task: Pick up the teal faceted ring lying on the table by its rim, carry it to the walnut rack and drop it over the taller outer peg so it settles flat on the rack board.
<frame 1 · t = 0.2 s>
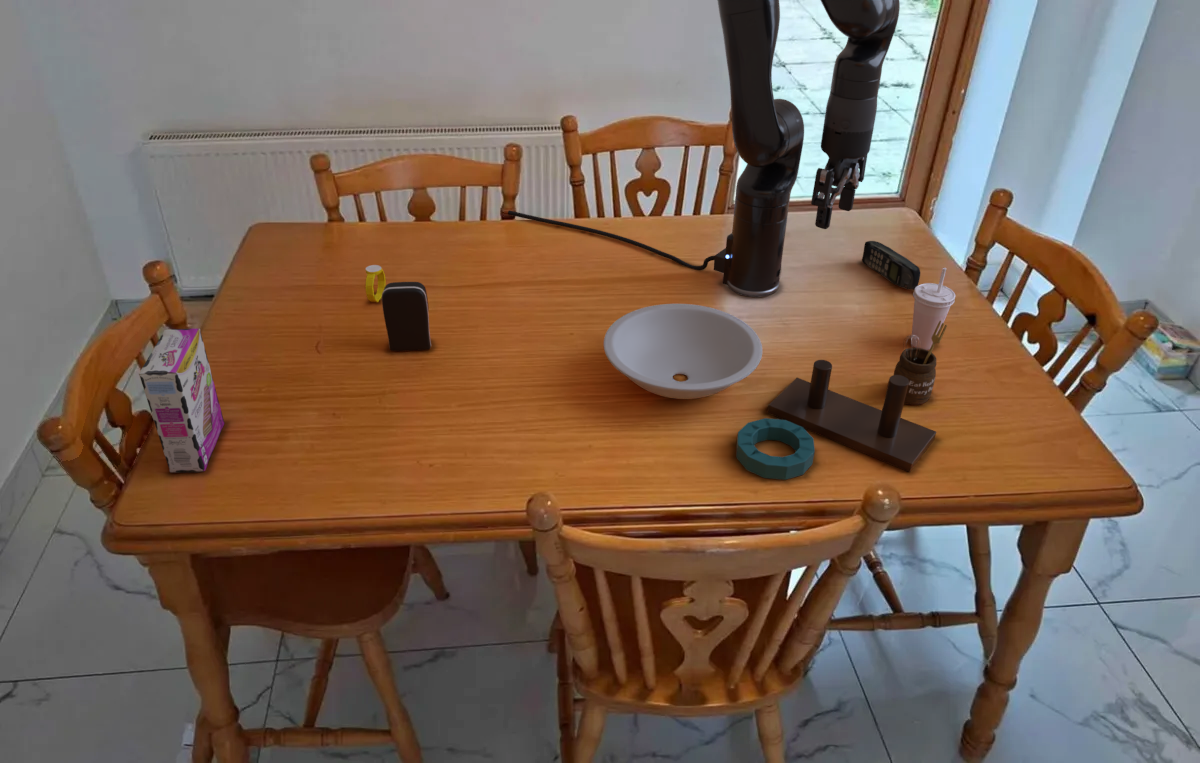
hand: (833, 218, 153), 17 cm above the table, tool pointing down, fingers open, 8 cm apart
watch: (377, 299, 165), on the table
rack: (849, 426, 135), on the table
battery charger: (411, 346, 152), on the table
vessel sink basin: (680, 379, 145), on the table
utensil holder: (910, 395, 142), on the table
teal faceted ring: (773, 454, 130), on the table
candy bar box: (200, 448, 130), on the table
mobile phone: (891, 279, 172), on the table
smoothie: (922, 344, 153), on the table
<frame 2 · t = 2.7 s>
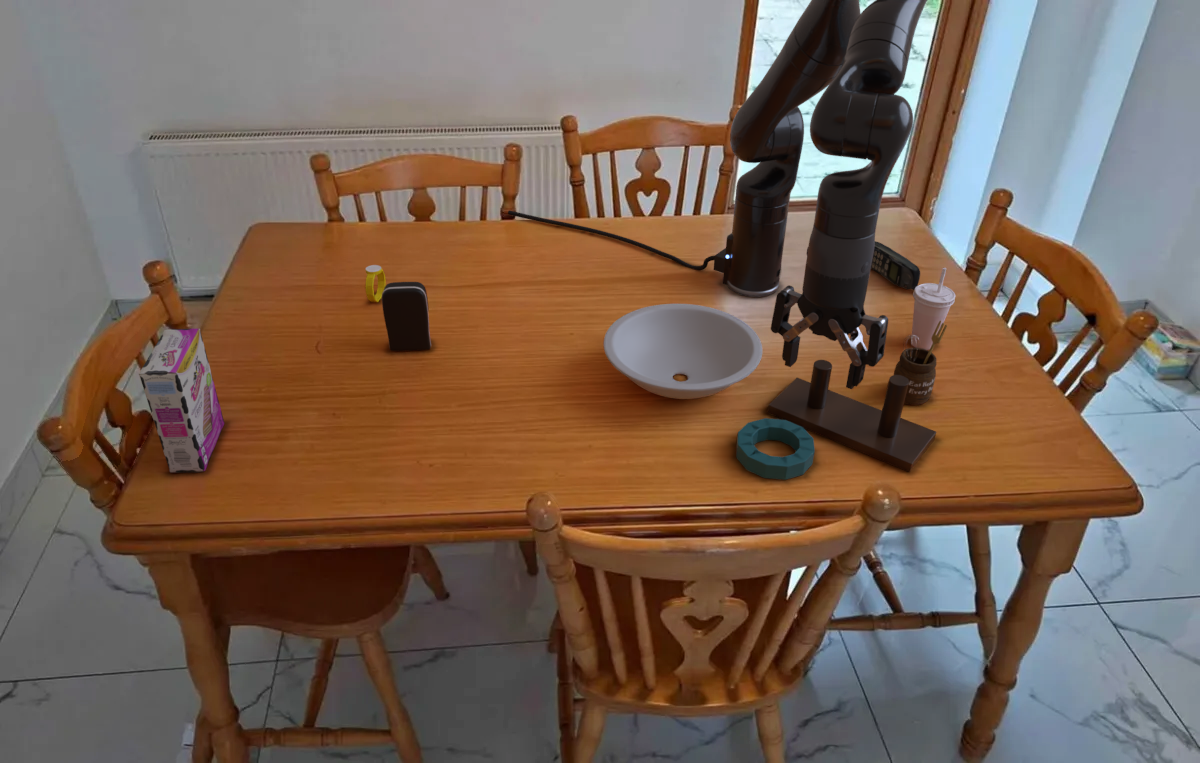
hand: (820, 374, 119), 15 cm above the table, tool pointing down, fingers open, 8 cm apart
nothing on the table moved.
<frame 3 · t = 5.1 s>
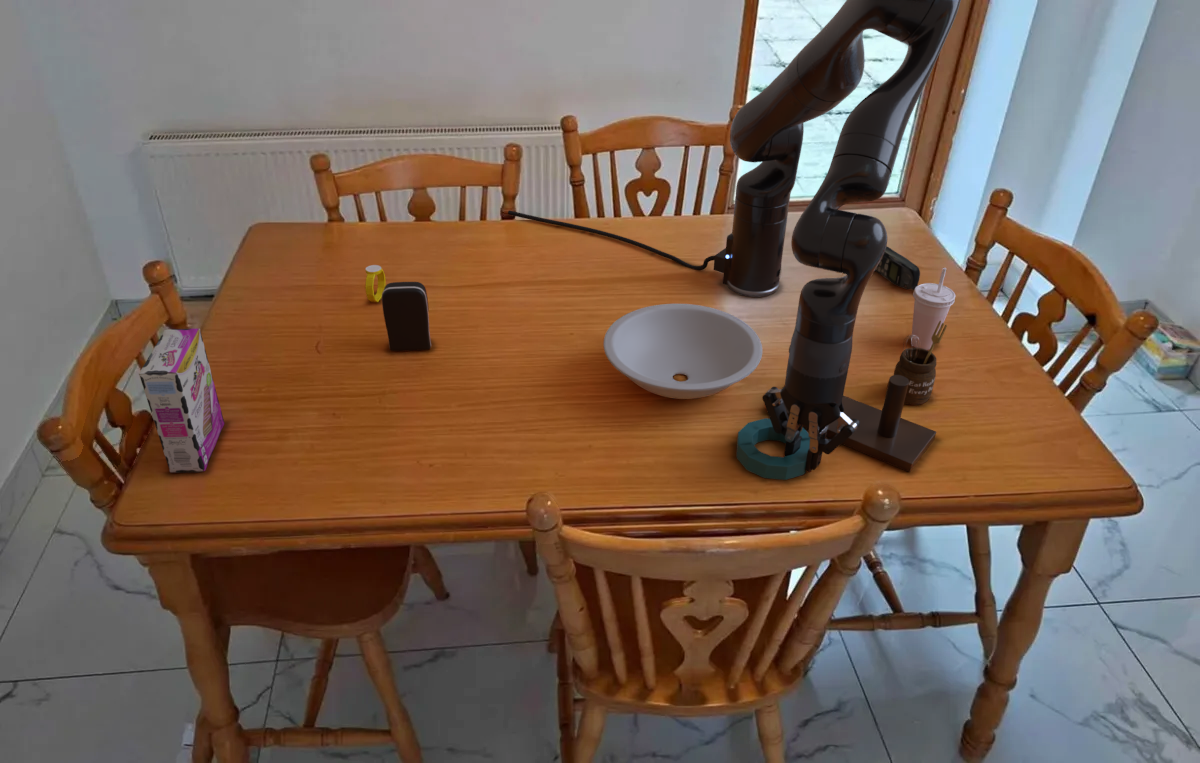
hand: (801, 464, 127), 0 cm above the table, tool pointing down, fingers closed on teal faceted ring, 2 cm apart
teal faceted ring: (774, 454, 130), on the table, touching gripper
everything else where it was.
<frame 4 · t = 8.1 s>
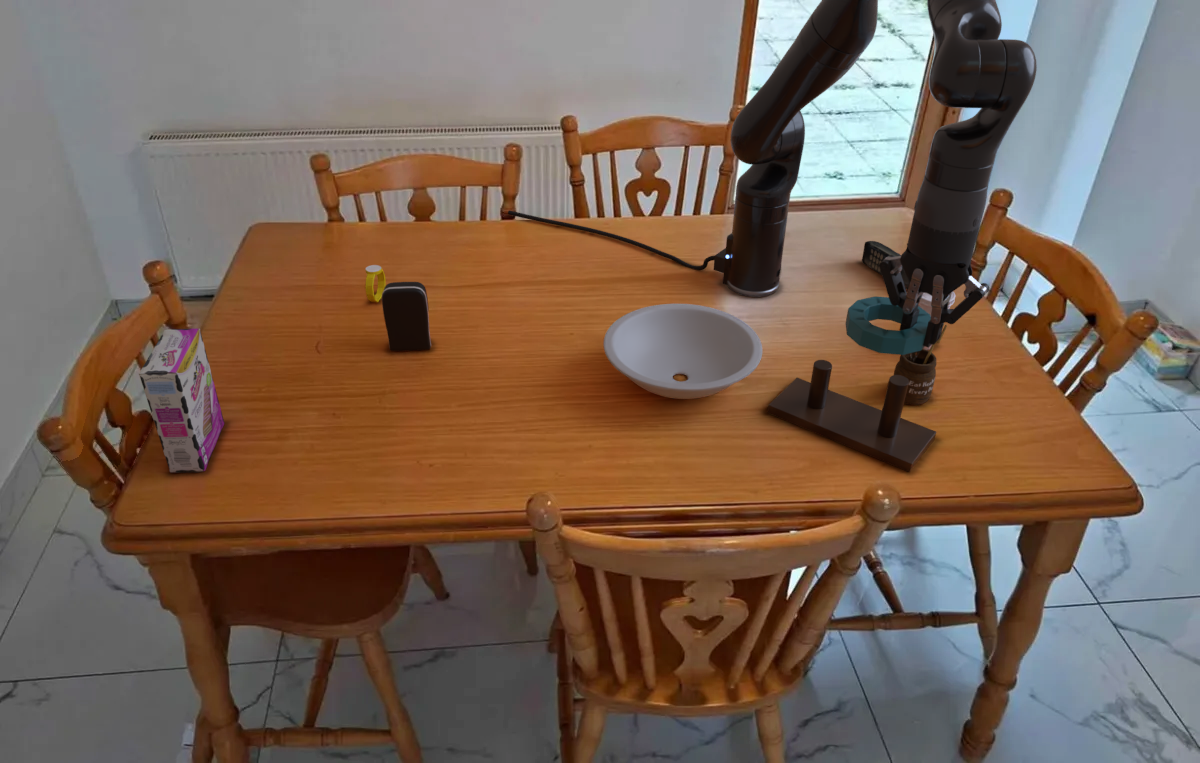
hand: (918, 340, 119), 19 cm above the table, tool pointing down, fingers closed on teal faceted ring
teal faceted ring: (886, 332, 121), point 19 cm above the table, touching gripper
everything else where it was.
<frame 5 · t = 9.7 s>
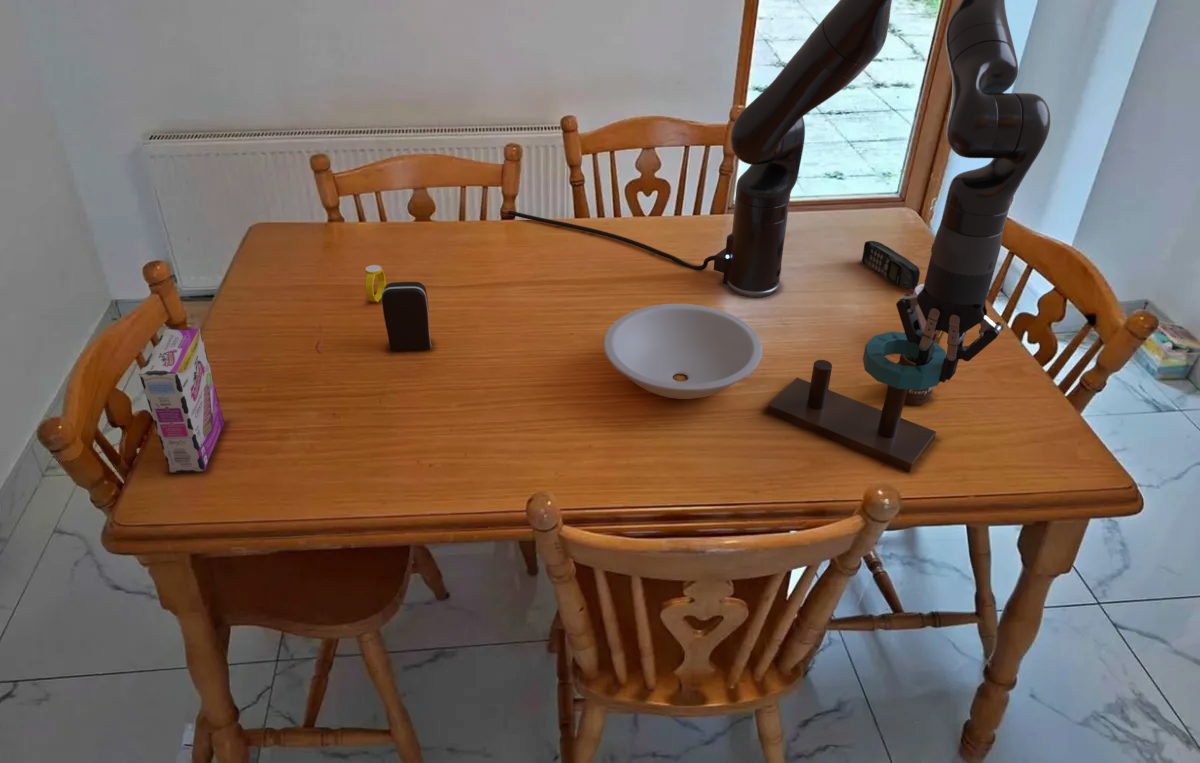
hand: (933, 375, 123), 13 cm above the table, tool pointing down, fingers closed on teal faceted ring
teal faceted ring: (903, 367, 125), point 13 cm above the table, touching gripper
everything else where it was.
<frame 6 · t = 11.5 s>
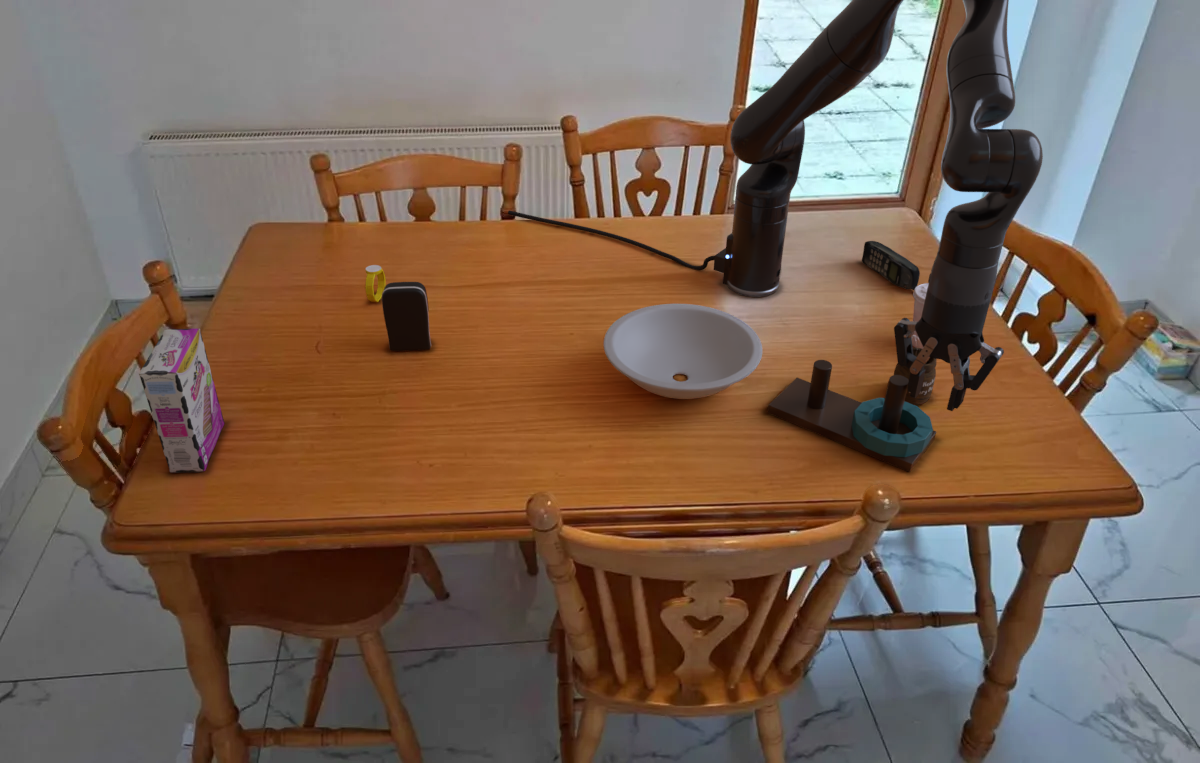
hand: (933, 400, 125), 9 cm above the table, tool pointing down, fingers open, 4 cm apart
teal faceted ring: (890, 433, 131), point 1 cm above the table, touching rack
everything else where it was.
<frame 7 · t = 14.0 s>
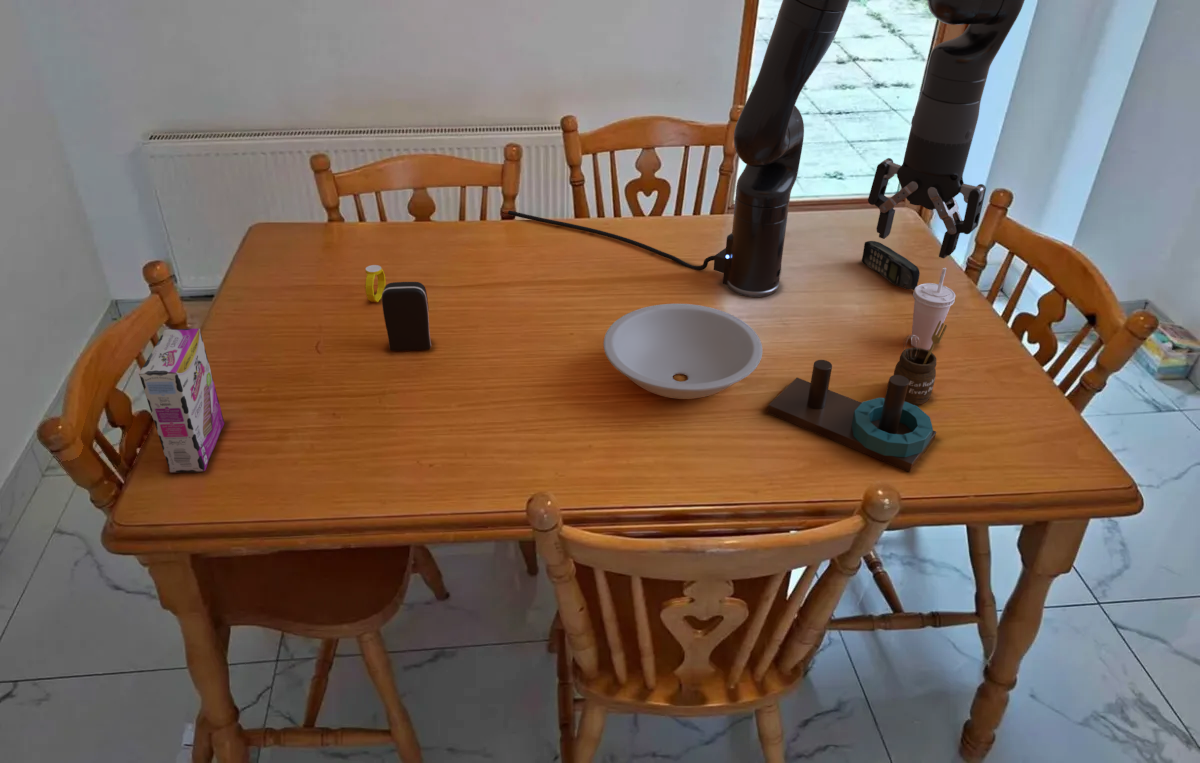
hand: (913, 246, 126), 26 cm above the table, tool pointing down, fingers open, 8 cm apart
nothing on the table moved.
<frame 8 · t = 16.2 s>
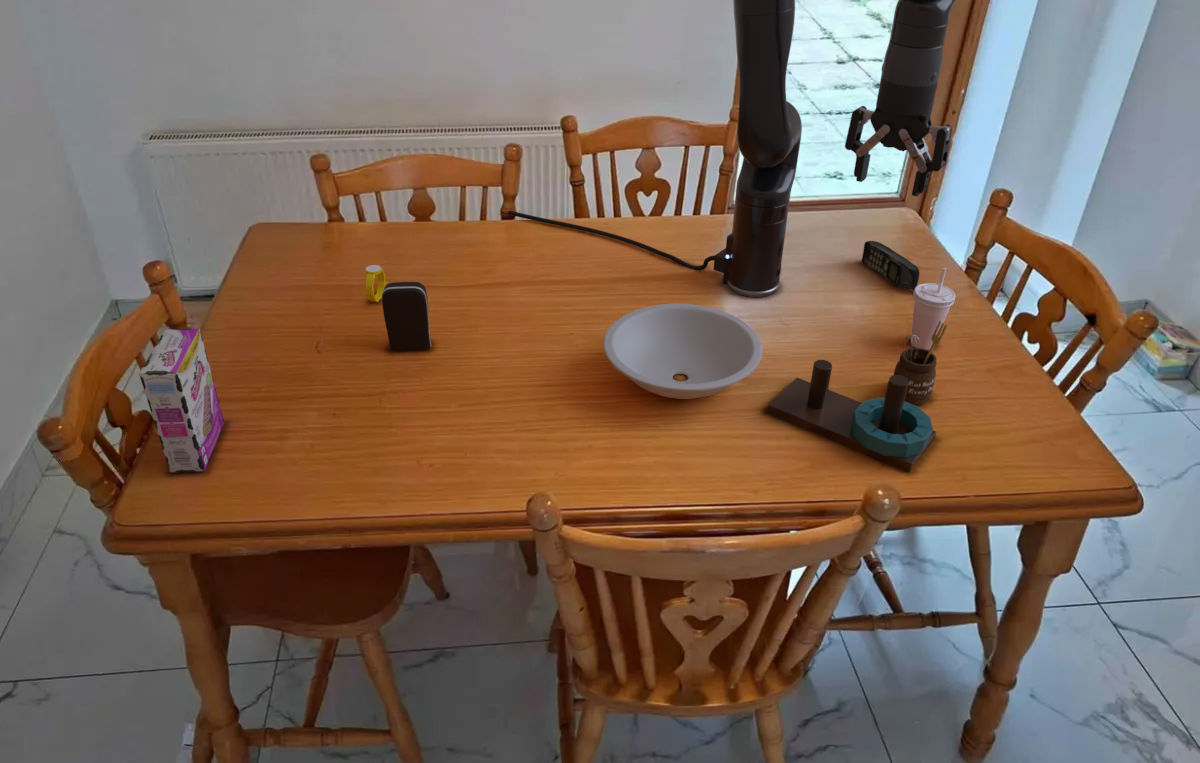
hand: (888, 187, 136), 28 cm above the table, tool pointing down, fingers open, 8 cm apart
nothing on the table moved.
at the end: teal faceted ring 0.4 cm from the target spot on the rack, point 1.5 cm above the rack's base; teal faceted ring tilted 0°; the gripper is holding nothing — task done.
